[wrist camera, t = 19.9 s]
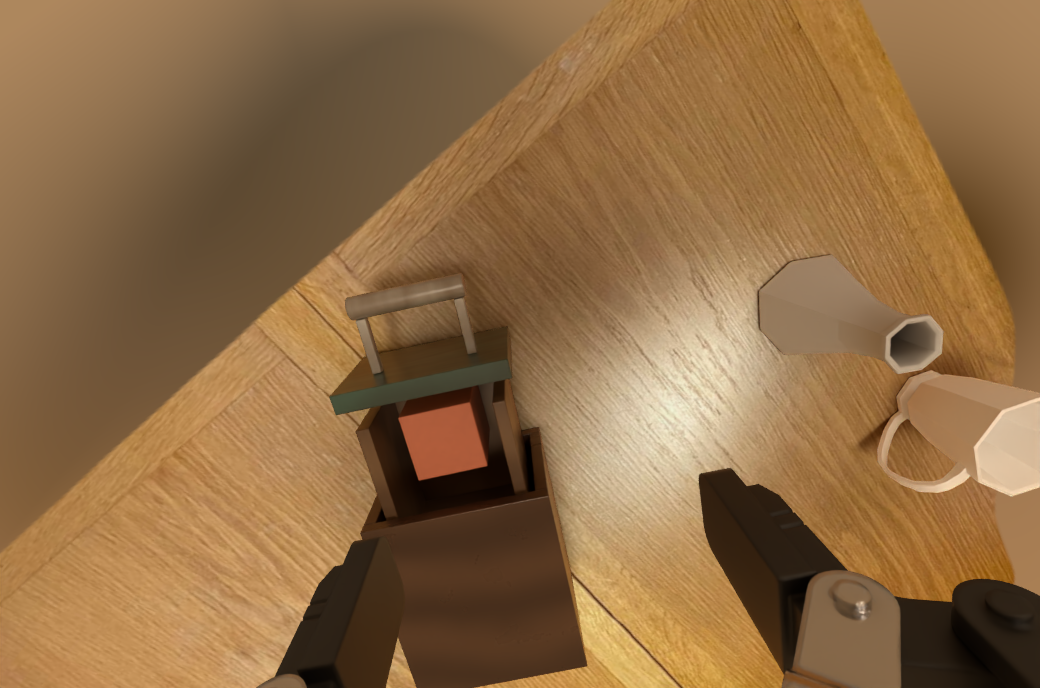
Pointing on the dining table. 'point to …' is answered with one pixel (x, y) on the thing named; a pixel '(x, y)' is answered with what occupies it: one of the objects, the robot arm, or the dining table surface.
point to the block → (446, 432)
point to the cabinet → (486, 586)
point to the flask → (842, 318)
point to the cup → (971, 431)
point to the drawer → (423, 374)
